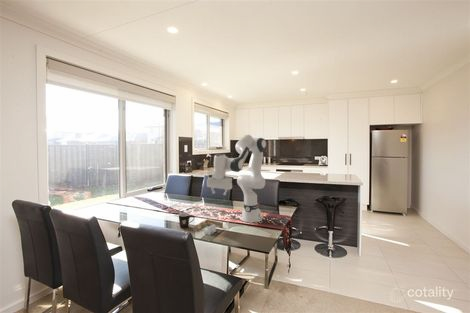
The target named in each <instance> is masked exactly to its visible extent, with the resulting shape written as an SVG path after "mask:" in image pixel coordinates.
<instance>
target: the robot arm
mask: <svg viewBox="0 0 470 313" xmlns="http://www.w3.org/2000/svg"><path fill="white" fill-rule="evenodd" d="M266 147H267V141H266V139H265V138H262V137H254V138H253V136H252V135H250V134H245V135H244V136H242V137H241V138H240V139H239V140H238V141H237V142H236V143H235V148H234V149H235V151H236V152H237V153H238V154H239V156H238V157H229V156H227V155H226V154H225V153H217V154H215V155H214V158H213V172H212V173H209V174H207V178H206V187H207V188H210V189H211V192H212V194H213V195H214V194H216V191H215V189H221V190H224V192H223V194H222V195H223V196H227V192H228V190H232V189H233V178H232V177H231V176H226V171H229V172H230V171H231V172H235V173H239V172H240V171H241V170H242V169H243V168H244V164H245V163H246V161H247V158H248V156H249V154H250V152H251V156H250V158H249V163H248V166H247V167H248V171H249V172H251V175H250V174H240V175H239V176H238V177H237V179H236V184H237V185H238V186H239V187H240V189H241V190H242V193H243V197H244V198H243V200H244V201H243V208H242V209H241V210H242V211H241V213H242V214H241V217H240V219H241V220H242V221H243V222H244V223H250V224H251V223H252V224H253V222H254V223H261V222H262V220H263V219H262V218H264V215H262V211H261V209H260V208H259V205H260V203H259V202H258V194H257V193H256V192H255V191H253V189H255V190H261V189H264V187H265V186H266V179H265V178H264V177H263V175H262V171H261V170H262V164H263V160H264V159H263V158H264V151H265V149H266ZM260 221H261V222H260Z"/></svg>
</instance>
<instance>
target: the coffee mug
mask: <svg viewBox="0 0 470 313" xmlns="http://www.w3.org/2000/svg"><path fill="white" fill-rule="evenodd" d="M190 218H193V219H192V220H191V221H190ZM194 220H195V216H194V215H191V214H190V213H188V212H181V213H179V214H178V222H179V227H180V229H189V225H190V223H192V222H193V221H194Z"/></svg>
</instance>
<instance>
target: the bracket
mask: <svg viewBox="0 0 470 313" xmlns="http://www.w3.org/2000/svg"><path fill="white" fill-rule="evenodd" d="M207 227H208V230H204V234H205V235H208V236H211V235H213V234H214V233H216V231H217V230H216V228H217V227H216V225H214V224H213V225H209V226H207Z"/></svg>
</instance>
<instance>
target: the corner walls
mask: <svg viewBox="0 0 470 313" xmlns="http://www.w3.org/2000/svg"><path fill="white" fill-rule="evenodd" d="M213 224H214V225H216V228H221V229H222V228H223V227H224V223H223V222H222V221H217V220H213V219H207V218H206V219H205V220H202V221H200V222H199V223H197V224H195V225H193V231H194V232H197V231H199V230H200V229H203V228H204V227H207V226H211V225H213Z"/></svg>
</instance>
